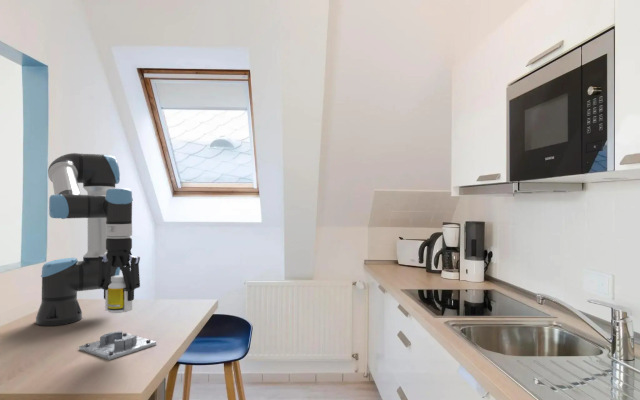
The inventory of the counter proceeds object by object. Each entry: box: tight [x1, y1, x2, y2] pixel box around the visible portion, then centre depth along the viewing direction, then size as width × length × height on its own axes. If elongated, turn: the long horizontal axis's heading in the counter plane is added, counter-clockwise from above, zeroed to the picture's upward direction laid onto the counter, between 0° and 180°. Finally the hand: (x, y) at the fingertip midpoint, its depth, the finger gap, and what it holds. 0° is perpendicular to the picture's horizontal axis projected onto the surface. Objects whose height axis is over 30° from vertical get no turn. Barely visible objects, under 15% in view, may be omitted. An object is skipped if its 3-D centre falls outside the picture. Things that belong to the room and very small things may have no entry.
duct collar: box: [78, 330, 157, 361], centre depth 137 cm, size 16×16×4 cm
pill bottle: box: [107, 274, 127, 314], centre depth 137 cm, size 6×6×11 cm
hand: (118, 310), depth 137 cm, fingers closed on pill bottle, 6 cm apart
